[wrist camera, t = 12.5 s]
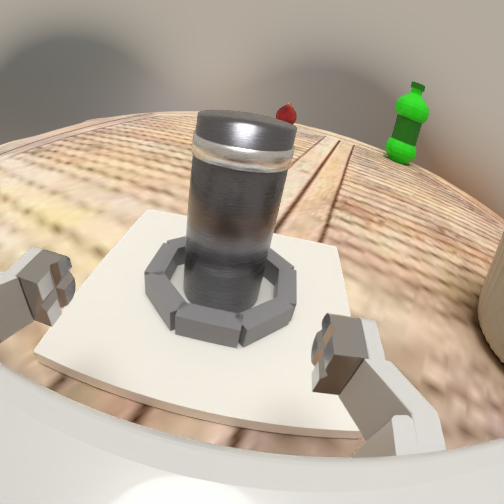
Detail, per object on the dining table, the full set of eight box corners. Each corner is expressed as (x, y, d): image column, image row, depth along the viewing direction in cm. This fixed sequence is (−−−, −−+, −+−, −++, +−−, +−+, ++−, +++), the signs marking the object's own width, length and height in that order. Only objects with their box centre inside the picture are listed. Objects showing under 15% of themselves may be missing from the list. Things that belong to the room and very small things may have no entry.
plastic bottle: (408, 168, 75) (431, 86, 62) (376, 154, 81) (397, 75, 67) (416, 167, 82) (437, 93, 68) (387, 153, 87) (406, 82, 74)
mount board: (38, 362, 13) (24, 333, 12) (148, 217, 29) (148, 194, 27) (358, 438, 13) (381, 418, 12) (333, 255, 28) (341, 232, 27)
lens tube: (171, 305, 18) (181, 117, 12) (193, 259, 23) (210, 106, 17) (255, 324, 18) (300, 137, 12) (263, 274, 23) (297, 122, 17)
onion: (287, 131, 81) (293, 104, 76) (270, 126, 83) (275, 100, 79) (296, 130, 85) (302, 105, 81) (280, 125, 87) (285, 101, 83)
